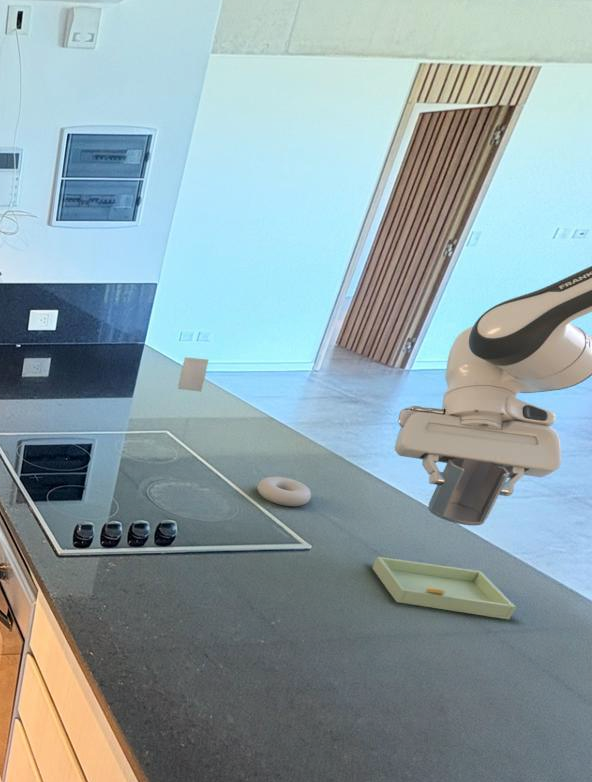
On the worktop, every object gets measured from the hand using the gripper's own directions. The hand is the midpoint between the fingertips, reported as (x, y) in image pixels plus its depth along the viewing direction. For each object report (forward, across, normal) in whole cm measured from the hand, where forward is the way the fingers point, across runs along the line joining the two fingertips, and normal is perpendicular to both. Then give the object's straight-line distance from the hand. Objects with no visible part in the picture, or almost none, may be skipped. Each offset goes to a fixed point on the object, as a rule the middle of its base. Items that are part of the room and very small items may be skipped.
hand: (470, 489), depth 100 cm
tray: (+16, 0, +9) cm, 18 cm away
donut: (-3, -21, +28) cm, 35 cm away
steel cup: (+3, 0, +4) cm, 5 cm away
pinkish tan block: (-54, -42, +79) cm, 105 cm away
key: (+17, -1, +5) cm, 18 cm away
